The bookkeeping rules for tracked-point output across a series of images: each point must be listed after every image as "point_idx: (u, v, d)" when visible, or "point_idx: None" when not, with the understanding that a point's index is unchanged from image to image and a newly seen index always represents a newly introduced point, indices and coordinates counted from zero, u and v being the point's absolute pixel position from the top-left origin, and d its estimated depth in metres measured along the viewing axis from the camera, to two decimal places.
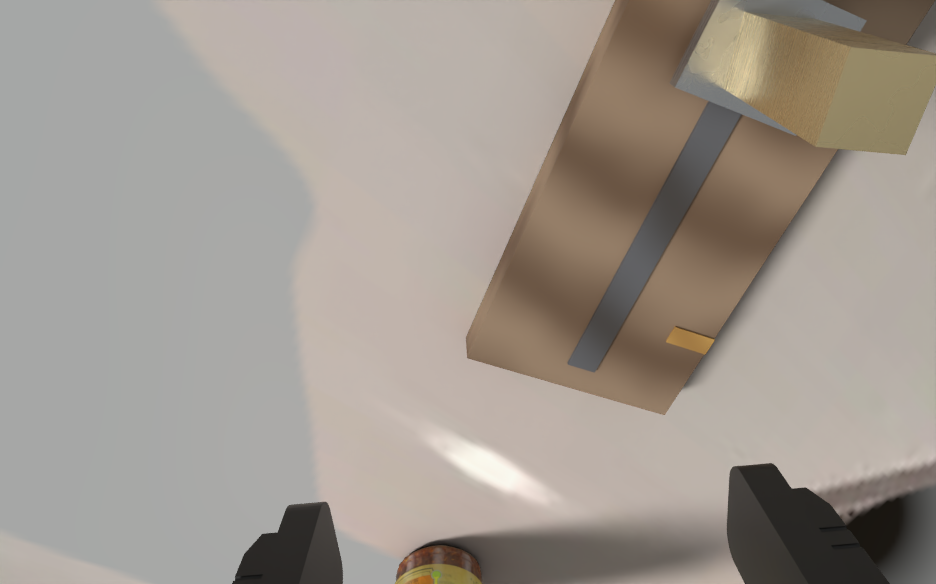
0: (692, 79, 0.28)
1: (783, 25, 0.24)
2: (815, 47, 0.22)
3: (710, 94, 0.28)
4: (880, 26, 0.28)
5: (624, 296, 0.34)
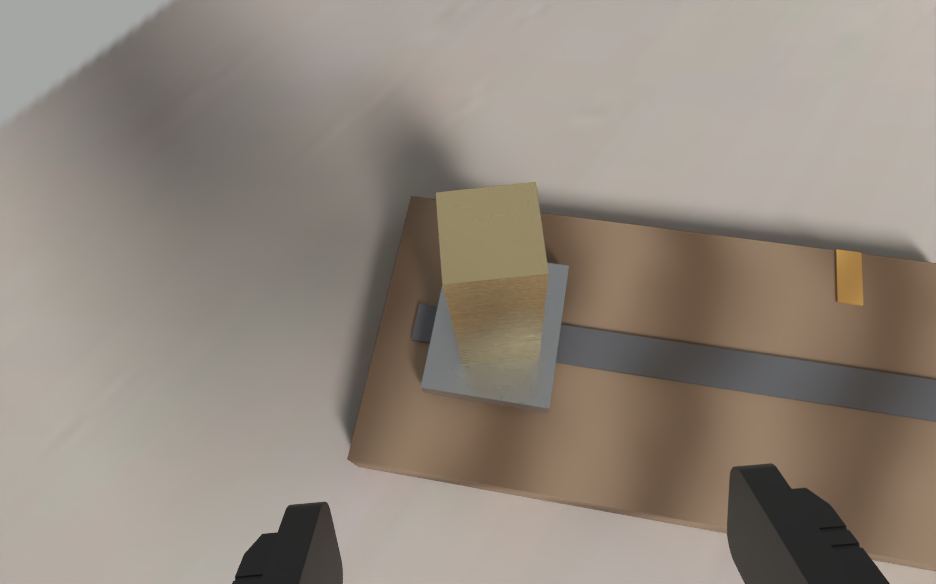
0: (537, 392, 0.26)
1: (456, 335, 0.23)
2: (459, 307, 0.21)
3: (548, 368, 0.26)
4: None
5: (818, 378, 0.26)
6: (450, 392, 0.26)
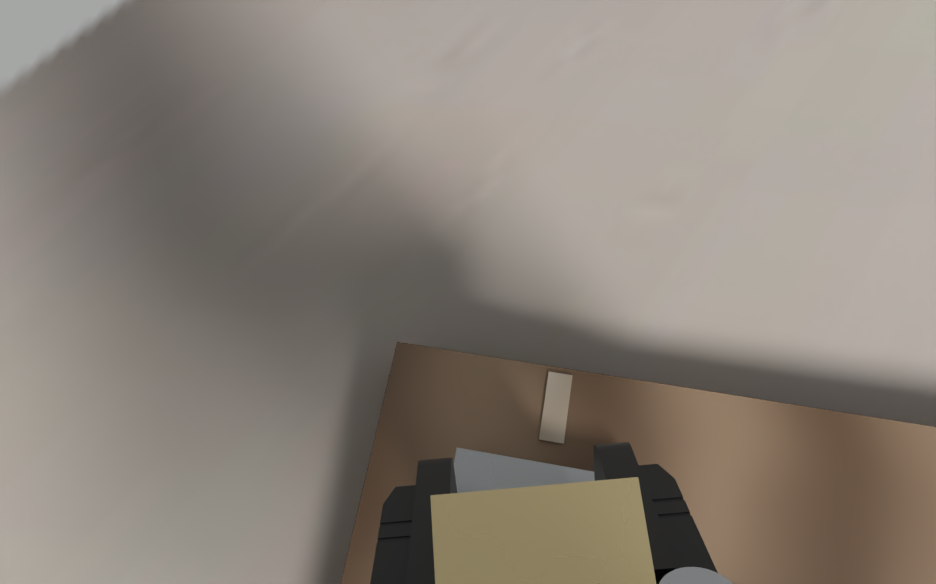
0: None
1: None
2: None
3: None
4: (464, 403, 0.20)
5: None
6: None
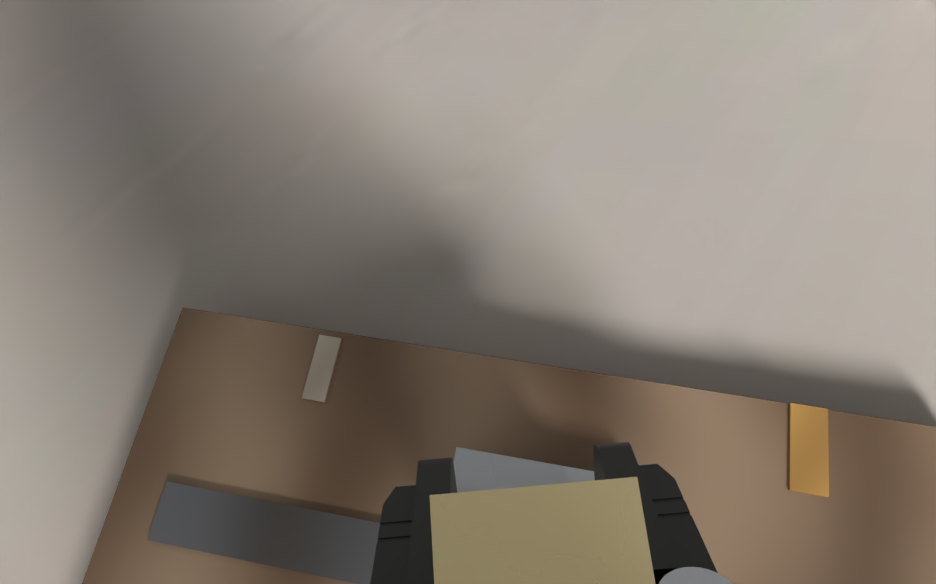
0: None
1: None
2: None
3: None
4: (238, 364, 0.21)
5: None
6: None
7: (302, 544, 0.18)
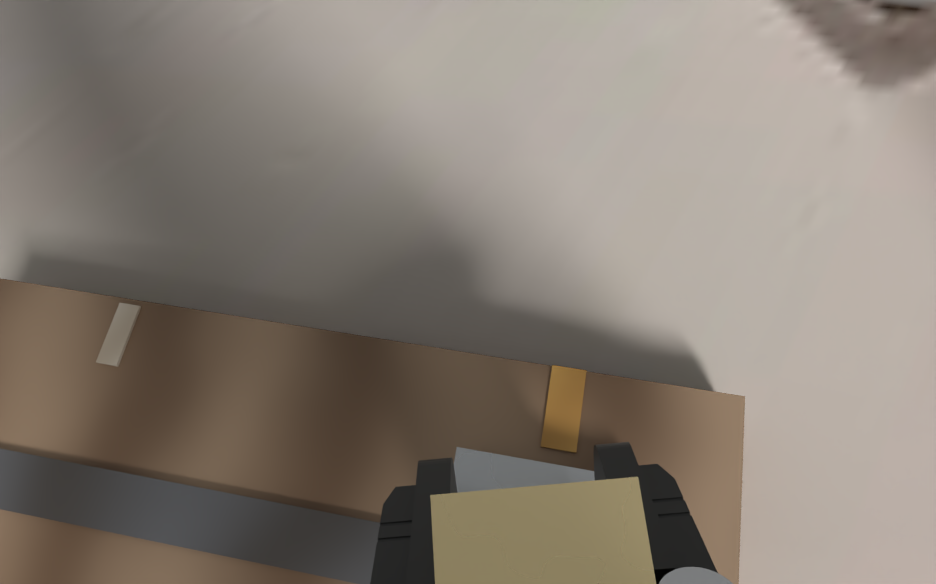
0: None
1: None
2: None
3: None
4: (40, 331, 0.22)
5: None
6: None
7: (78, 498, 0.19)
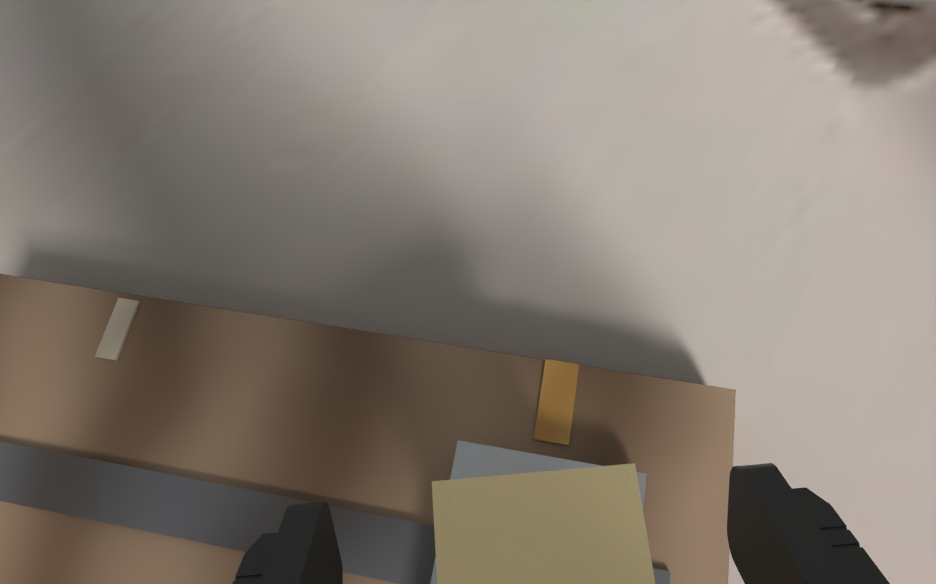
0: None
1: None
2: None
3: None
4: (40, 326, 0.22)
5: None
6: None
7: (77, 490, 0.19)
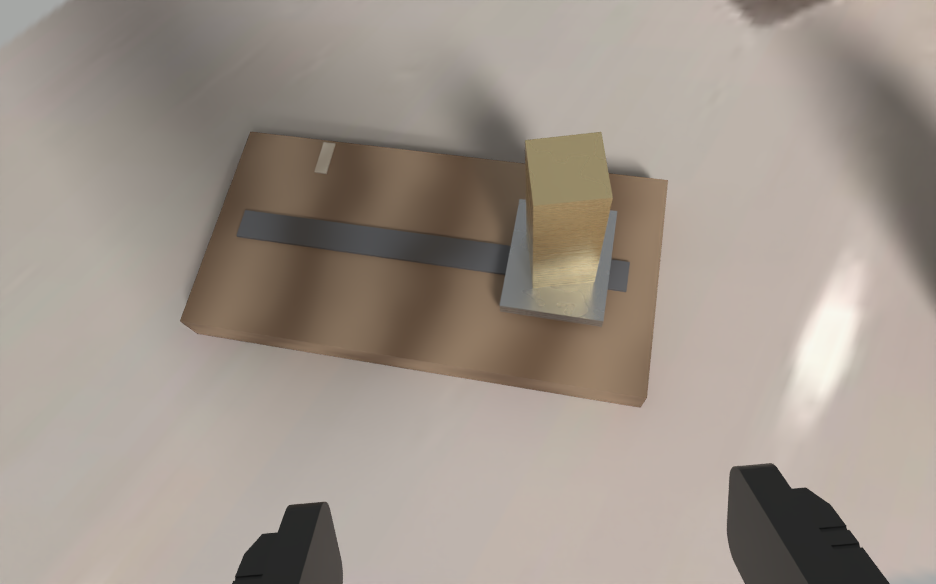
0: (593, 309, 0.32)
1: (533, 256, 0.30)
2: (541, 229, 0.27)
3: (601, 290, 0.33)
4: (280, 157, 0.39)
5: None
6: (523, 309, 0.33)
7: (314, 234, 0.36)
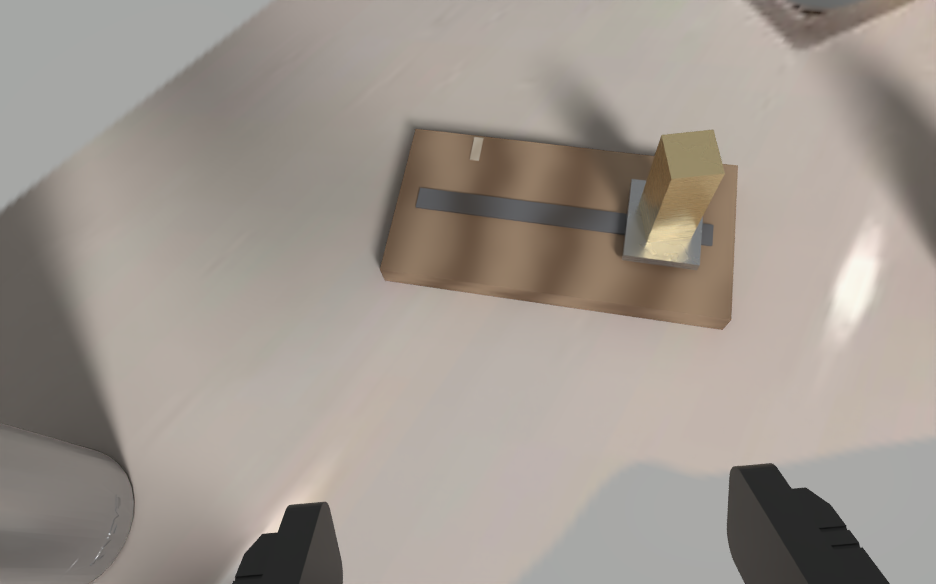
0: (691, 257, 0.45)
1: (656, 217, 0.42)
2: (670, 195, 0.40)
3: (697, 243, 0.45)
4: (441, 148, 0.51)
5: None
6: (641, 257, 0.45)
7: (475, 205, 0.49)
